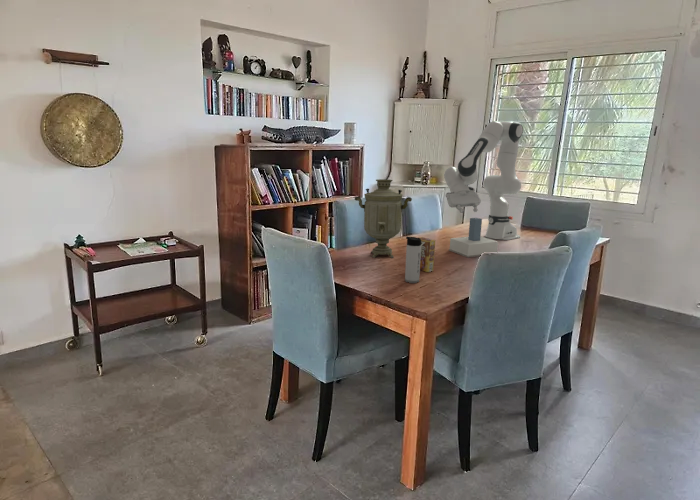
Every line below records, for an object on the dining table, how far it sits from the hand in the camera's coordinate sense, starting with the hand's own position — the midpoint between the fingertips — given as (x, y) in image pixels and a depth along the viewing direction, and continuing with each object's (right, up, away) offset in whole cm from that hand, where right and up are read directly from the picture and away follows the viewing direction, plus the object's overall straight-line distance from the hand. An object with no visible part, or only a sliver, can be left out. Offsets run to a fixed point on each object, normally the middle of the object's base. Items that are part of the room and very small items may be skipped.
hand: (469, 211), depth 256 cm
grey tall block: (+2, -16, -2) cm, 16 cm away
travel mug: (-39, -35, -53) cm, 74 cm away
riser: (+2, -23, 0) cm, 23 cm away
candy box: (-31, -31, -35) cm, 56 cm away
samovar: (-51, -25, -12) cm, 58 cm away
